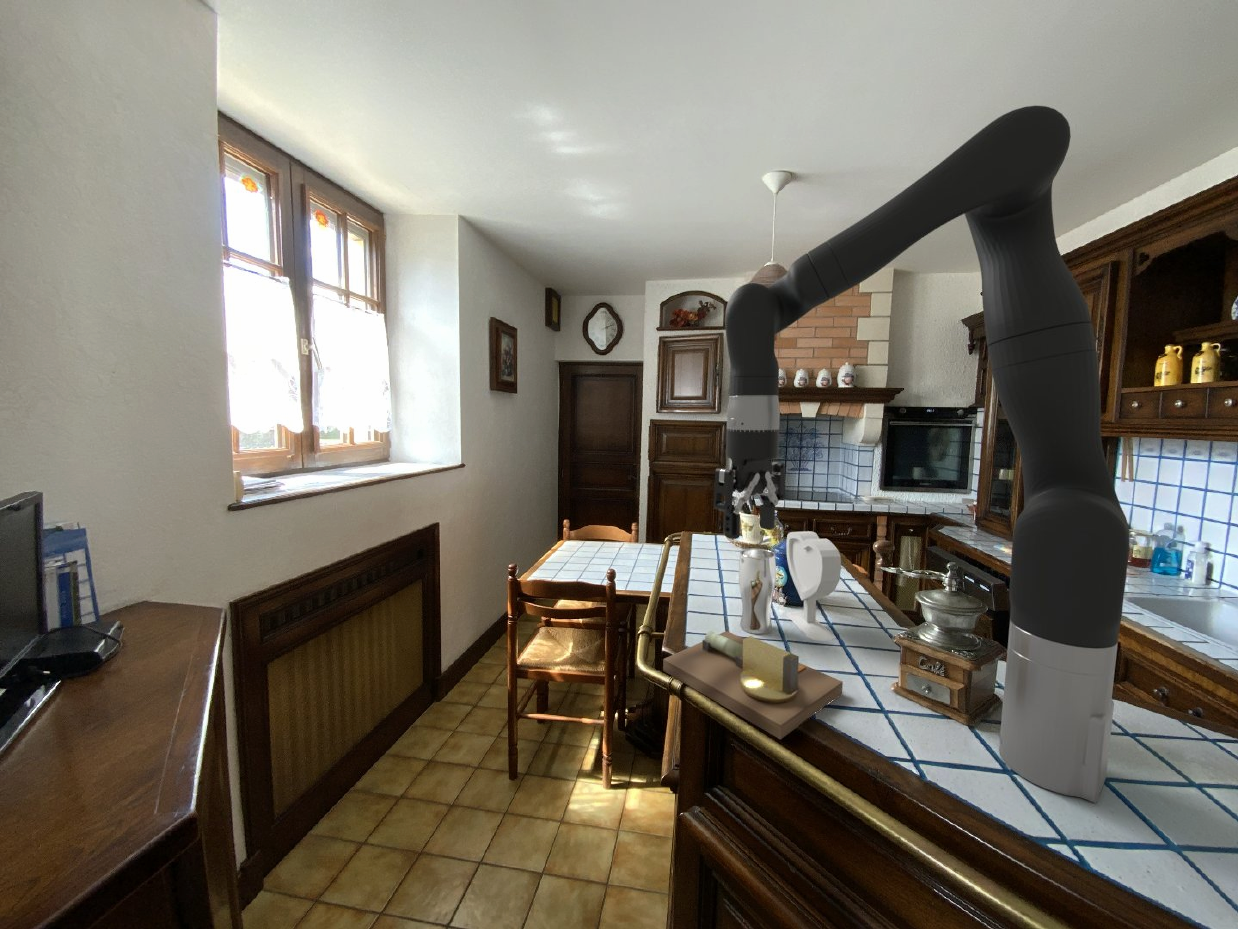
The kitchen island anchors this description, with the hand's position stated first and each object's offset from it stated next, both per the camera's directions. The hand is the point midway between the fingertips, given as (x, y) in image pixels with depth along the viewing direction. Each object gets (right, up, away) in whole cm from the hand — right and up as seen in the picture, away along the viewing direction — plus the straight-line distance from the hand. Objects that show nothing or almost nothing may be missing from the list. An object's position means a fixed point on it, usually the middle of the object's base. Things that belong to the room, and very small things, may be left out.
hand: (750, 533), depth 75 cm
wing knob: (+2, -22, -3) cm, 23 cm away
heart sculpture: (+18, -22, +22) cm, 36 cm away
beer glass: (+7, -22, +21) cm, 31 cm away
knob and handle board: (0, -24, +2) cm, 24 cm away
